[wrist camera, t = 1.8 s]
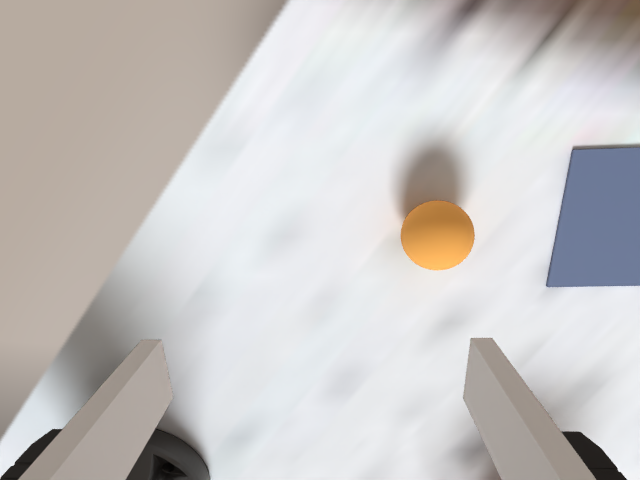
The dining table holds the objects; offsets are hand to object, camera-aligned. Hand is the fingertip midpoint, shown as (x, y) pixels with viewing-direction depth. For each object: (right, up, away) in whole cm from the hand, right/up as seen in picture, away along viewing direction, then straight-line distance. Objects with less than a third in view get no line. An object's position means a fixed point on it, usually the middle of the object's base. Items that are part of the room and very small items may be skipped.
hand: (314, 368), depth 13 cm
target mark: (+26, +7, +16) cm, 32 cm away
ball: (+9, +5, +14) cm, 18 cm away
